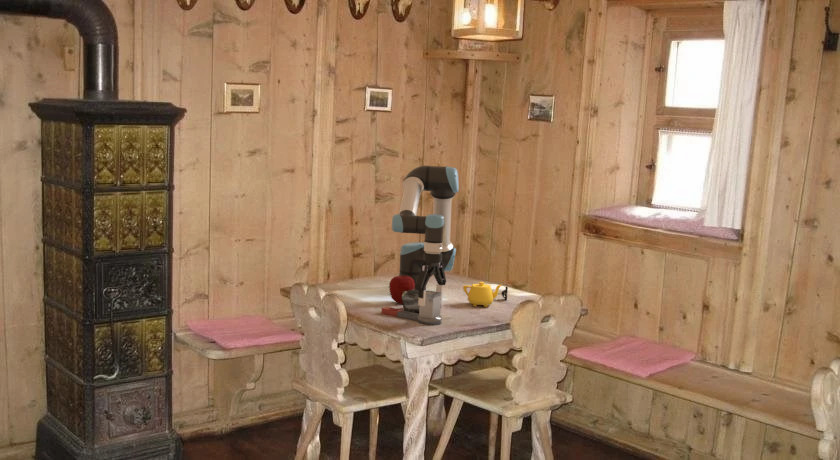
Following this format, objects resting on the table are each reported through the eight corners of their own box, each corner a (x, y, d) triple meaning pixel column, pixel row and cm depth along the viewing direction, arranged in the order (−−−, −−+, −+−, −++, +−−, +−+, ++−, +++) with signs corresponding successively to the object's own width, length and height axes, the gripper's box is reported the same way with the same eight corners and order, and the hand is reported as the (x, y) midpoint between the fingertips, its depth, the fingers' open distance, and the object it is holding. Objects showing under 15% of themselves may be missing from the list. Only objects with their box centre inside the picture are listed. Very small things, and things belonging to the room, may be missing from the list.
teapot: (500, 303, 393) (502, 281, 392) (501, 309, 382) (503, 285, 381) (462, 301, 394) (463, 278, 392) (462, 306, 383) (463, 283, 381)
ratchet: (377, 314, 360) (378, 296, 358) (390, 310, 368) (391, 292, 367) (433, 326, 345) (434, 307, 344) (445, 322, 353) (446, 303, 352)
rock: (404, 306, 378) (402, 286, 375) (429, 304, 377) (426, 284, 374) (403, 321, 364) (400, 300, 361) (428, 319, 364) (426, 298, 360)
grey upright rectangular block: (419, 316, 350) (420, 292, 349) (427, 313, 356) (428, 290, 354) (432, 318, 347) (433, 295, 346) (440, 316, 352) (441, 292, 351)
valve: (481, 299, 400) (506, 301, 398) (481, 286, 399) (507, 288, 397) (482, 297, 406) (507, 299, 404) (482, 283, 405) (507, 285, 404)
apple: (402, 299, 392) (403, 270, 390) (419, 303, 384) (421, 275, 382) (382, 302, 384) (384, 273, 382) (400, 307, 376) (402, 277, 374)
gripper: (424, 257, 335) (421, 309, 338) (456, 250, 356) (453, 299, 359) (408, 254, 339) (406, 306, 342) (440, 247, 360) (438, 296, 363)
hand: (430, 302), depth 350 cm, fingers open, 13 cm apart
